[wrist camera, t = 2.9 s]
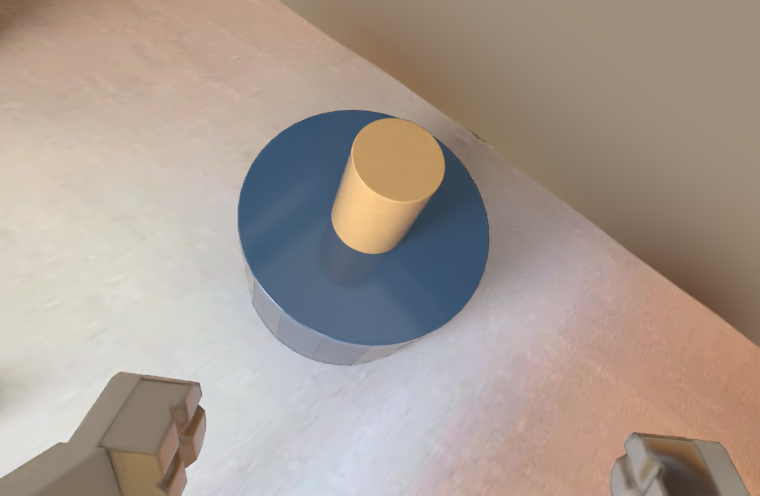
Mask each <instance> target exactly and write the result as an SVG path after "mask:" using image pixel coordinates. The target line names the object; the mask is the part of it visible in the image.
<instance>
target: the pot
mask: <svg viewBox="0 0 760 496" xmlns="http://www.w3.org/2000/svg"><path fill="white" fill-rule="evenodd" d="M245 270H246V275H247V280H248V285H249V291H250V295H251V299H252V304H253V306H254V308H255V310H256V311H257V313H258V315H259V316H260V318H261V319H262V321H263V323H264V324H265V325H266V327H267V328H268V329H269V330H270V331H271V333H272V334H273V335H274V336H275V337H276V338H277V339H278V340H280V341H281V342H282V343H283V344H284V345H286V346H287V347H289V348H290V349H292V350H293V351H295V352H297V353H299V354H301V355H302V356H304V357H307V358H309V359H312V360H315V361H318V362H323V363H327V364H335V365H349V366H350V365H351V366H352V365H356V364H361V363H367V362H370V361H373V360H376V359H379V358H383V357H387V356H389V355H390V354H392V353H393V352H394V351H396V350H397V349H398V348H400V347H401V346H402V345H397V346H392V347H386V348H361V347H351V346H346V345H342V344H337V343H333V342H331V341H328V340H325V339H322V338H320V337H317V336H315V335H313V334H311V333H309V332H307V331H305V330H304V329H302V328H300V327H298V326H297V325H296V324H294V323H293V322H291V321H290V320H288V319H287V318H286V317H285V316H283V315H282V314H281V313H280V312H279V311H278V310H277V309H276V308H275V307H274V306H273V305H272V304H271V303H270V302H269V301H268V300H267V298H266V297H265V296H264V295H263V294H262V292H261V291H260V289H259V288H258V286H257V285H256V283H255V281H254V280H253V278H252V277H251V274H250V272H249V270H248V268H247V265H246V263H245ZM403 345H404V344H403Z"/></svg>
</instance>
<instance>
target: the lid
mask: <svg viewBox="0 0 760 496" xmlns="http://www.w3.org/2000/svg"><path fill="white" fill-rule="evenodd" d="M238 234H239V242H240V247H241V250H242V254H243V257H244V261H245V263H246V265H247V268H248V270H249V272H250V274H251V277H252V278H253V280H254V281H255V283H256V285H257V286H258V288H259V289H260V291H261V292H262V294H263V295H264V296H265V297H266V298H267V300H268V301H269V302H270V303H271V304H272V305H273V306H274V307H275V308H276V309H277V310H278V311H279V312H280V313H281V314H282V315H283V316H285V317H286V318H287V319H288V320H290V321H291V322H293V323H294V324H296V325H297V326H298V327H300V328H302V329H304V330H305V331H307V332H309V333H311V334H313V335H315V336H317V337H320V338H322V339H325V340H328V341H331V342H333V343H337V344H342V345H346V346H351V347H361V348H386V347H392V346H397V345H403V344H406V343H409V342H412V341H415V340H418V339H420V338H422V337H425V336H427V335H429V334H431V333H433V332H434V331H436V330H437V329H439V328H440V327H442V326H443V325H444V324H446V323H447V322H449V321H450V320H451V319H452V318H453V317H455V316H456V315H457V314H458V313H459V312H460V311H461V310H462V309H463V308H464V306H465V305H466V304H467V303H468V301H469V300H470V299H471V297H472V296H473V294H474V292H475V291H476V289H477V287H478V285H479V283H480V281H481V278H482V276H483V273H484V270H485V266H486V262H487V258H488V250H489V225H488V219H487V213H486V210H485V206H484V203H483V200H482V197H481V195H480V193H479V190H478V188H477V186H476V184H475V182H474V180H473V179H472V177H471V175H470V174H469V172H468V171H467V169H466V168H465V167H464V165H463V164H462V163H461V161H460V160H459V159H458V158H457V157H456V156H455V155H454V154H453V153H452V152H451V150H450V149H448V148H447V147H446V146H445V145H444V144H443V143H441V142H440V141H439V140H438V139H437V138H435V137H434V136H432V135H431V134H430V133H429V132H428V131H426V130H425V129H424V128H422V127H421V126H419V125H417V124H415V123H413V122H410V121H407V120H404V119H399V118H397V117H393V116H390V115H386V114H383V113H377V112H371V111H361V110H344V111H334V112H328V113H323V114H319V115H316V116H312V117H309V118H307V119H304V120H302V121H300V122H298V123H295V124H294V125H292V126H290V127H289V128H287V129H285V130H284V131H282V132H281V133H280V134H278V135H277V136H276V137H275V138H274V139H272V140H271V141H270V142H269V143H268V144H267V145H266V146H265V147H264V148H263V150H262V151H261V152H260V153H259V154H258V156H257V157H256V159H255V160H254V162H253V163H252V165H251V167H250V169H249V171H248V173H247V175H246V177H245V179H244V183H243V186H242V189H241V192H240V197H239V204H238Z"/></svg>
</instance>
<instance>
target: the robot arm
mask: <svg viewBox="0 0 760 496" xmlns="http://www.w3.org/2000/svg"><path fill="white" fill-rule="evenodd" d="M201 397H202V391H201V387H200V383H198V382H192V381H185V380H178V379H171V378H164V377H157V376H150V375H142V374H135V373H127V372H119V373H117V374H116V375H115V376H113V377H112V378H111V380H110V381H109V382H108V384H107V385H106V387H105V388H104V390H103V391H102V393H101V394H100V396H99V397H98V399H97V400H96V402H95V403H94V405H93V406H92V407H91V409H90V410H89V412H88V413H87V415H86V416H85V418H84V419H83V421H82V422H81V424H80V425H79V427H78V428H77V430H76V431H75V432H74V434H73V435H72V437H71V438H70V440H69V441H68V443H62V442H59V443H57V444H56V445H54V446H52V447H51V448H49V449H48V450H46V451H44V452H43V453H41V454H40V455H38V456H36V457H35V458H33V459H31V460H30V461H28V462H27V463H25V464H23V465H22V466H20V467H18V468H17V469H15V470H14V471H12V472H10V473H9V474H7V475H5V476H4V477H2V478H1V479H0V496H181V495H182V492H183V490H184V488H185V486H186V483H187V477H186V472H185V468H186V467H188V466H189V465H190V464H192V463H193V462H194V461H196V460H197V457H198V455H199V452H200V450H201V447H202V444H203V440H204V435H205V431H206V415H205V410H204V409H203V408H202V407H201V406H199V405H198V403H199V401H200V399H201ZM624 447H625V450H626V453H627V454H625V455H624V456H622V457H620V458H618V459H616V461H615V463H614V466H613V468H612V470H611V479H610V490H611V496H750V494H749V492H748V490H747V488H746V486H745V484H744V483H743V481H742V479H741V477H740V475H739V473H738V471H737V469H736V468H735V466H734V464H733V462H732V460H731V458H730V456H729V454H728V453H727V451H726V449H725V447H724V446H723V445H721V444H720V443H719V442H715V441H706V440H698V439H687V438H685V437H675V436H665V435H656V434H646V433H636V432H634V433H632V434H630V435H629V436H628V438H627V439H626V441H625V443H624Z"/></svg>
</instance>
